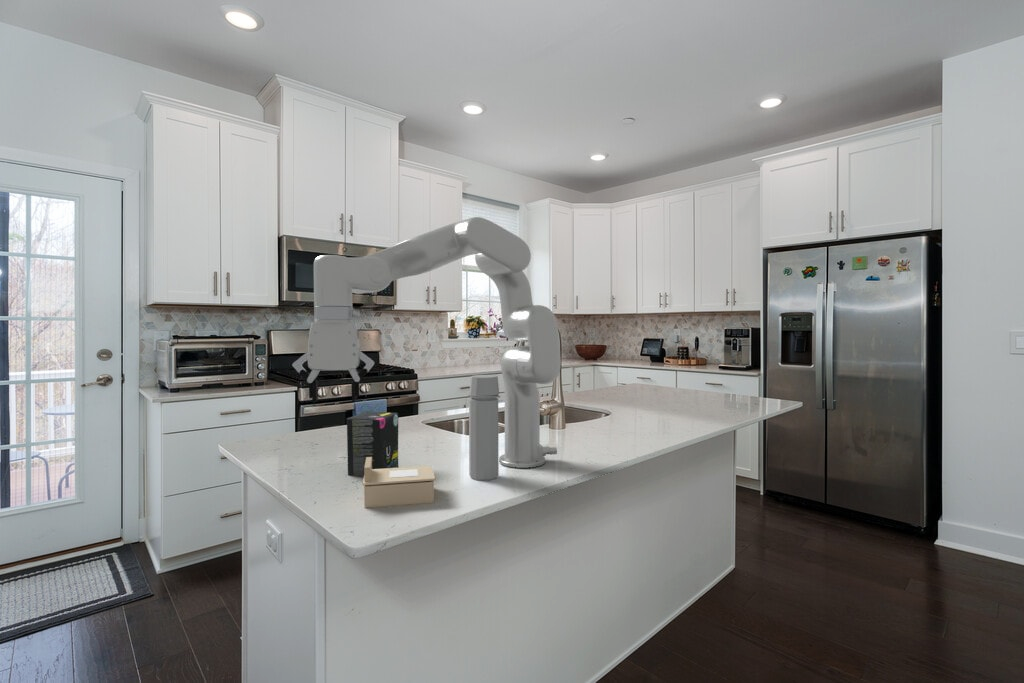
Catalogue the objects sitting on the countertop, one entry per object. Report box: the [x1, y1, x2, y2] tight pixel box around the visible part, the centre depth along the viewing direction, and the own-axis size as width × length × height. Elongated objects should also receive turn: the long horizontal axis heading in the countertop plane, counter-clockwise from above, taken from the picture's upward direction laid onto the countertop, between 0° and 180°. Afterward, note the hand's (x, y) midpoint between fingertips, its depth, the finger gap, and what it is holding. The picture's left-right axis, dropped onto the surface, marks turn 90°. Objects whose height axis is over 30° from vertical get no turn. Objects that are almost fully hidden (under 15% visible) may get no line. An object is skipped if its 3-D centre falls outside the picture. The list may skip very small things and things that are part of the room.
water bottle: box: [467, 374, 501, 482], centre depth 126 cm, size 9×8×25 cm
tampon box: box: [346, 411, 399, 477], centre depth 131 cm, size 11×9×15 cm
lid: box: [362, 457, 436, 486], centre depth 111 cm, size 15×10×3 cm
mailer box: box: [363, 480, 435, 509], centre depth 111 cm, size 14×10×5 cm
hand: (334, 400), depth 107 cm, fingers open, 7 cm apart
